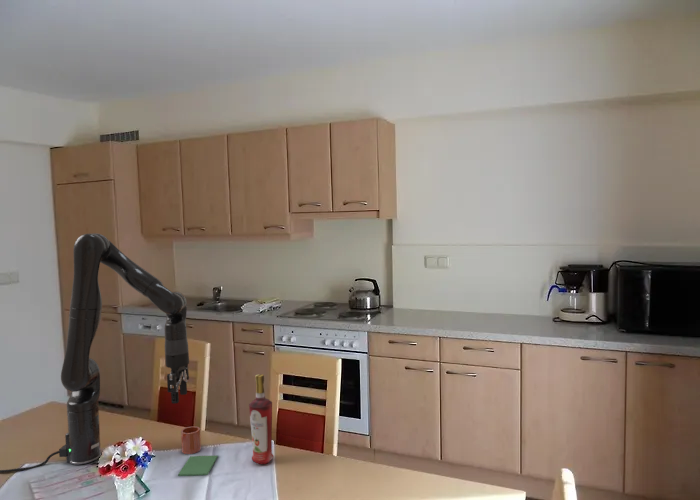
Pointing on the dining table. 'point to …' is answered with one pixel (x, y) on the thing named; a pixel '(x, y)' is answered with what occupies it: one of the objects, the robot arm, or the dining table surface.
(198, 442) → the flower pot
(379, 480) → the dining table surface
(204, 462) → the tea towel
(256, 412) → the liquor
